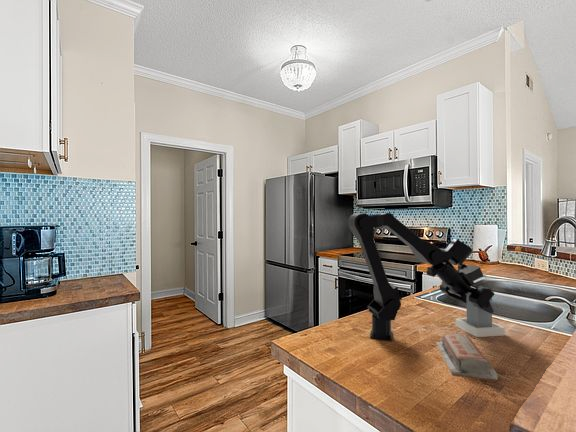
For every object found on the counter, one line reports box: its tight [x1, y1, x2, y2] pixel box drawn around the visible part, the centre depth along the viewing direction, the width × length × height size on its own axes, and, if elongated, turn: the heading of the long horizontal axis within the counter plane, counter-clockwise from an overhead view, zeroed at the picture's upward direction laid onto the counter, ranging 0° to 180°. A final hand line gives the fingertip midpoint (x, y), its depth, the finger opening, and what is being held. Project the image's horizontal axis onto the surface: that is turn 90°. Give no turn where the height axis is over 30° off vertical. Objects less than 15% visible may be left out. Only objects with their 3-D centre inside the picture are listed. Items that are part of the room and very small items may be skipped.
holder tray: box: [455, 317, 506, 338], centre depth 99 cm, size 10×10×2 cm
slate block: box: [466, 294, 493, 328], centre depth 99 cm, size 5×5×13 cm
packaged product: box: [436, 332, 499, 380], centre depth 79 cm, size 18×5×10 cm
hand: (481, 308), depth 99 cm, fingers open, 9 cm apart
